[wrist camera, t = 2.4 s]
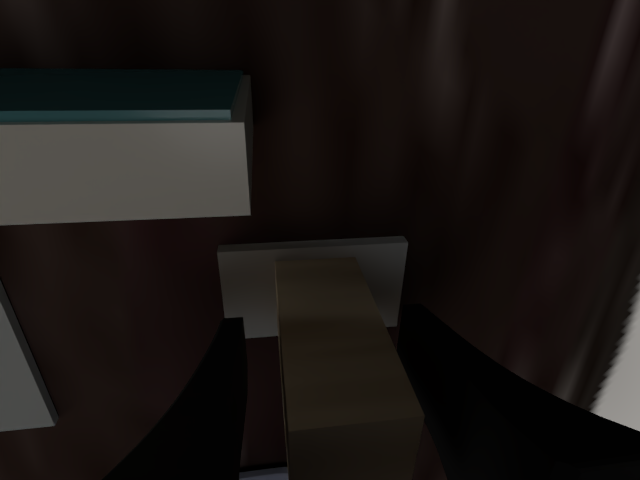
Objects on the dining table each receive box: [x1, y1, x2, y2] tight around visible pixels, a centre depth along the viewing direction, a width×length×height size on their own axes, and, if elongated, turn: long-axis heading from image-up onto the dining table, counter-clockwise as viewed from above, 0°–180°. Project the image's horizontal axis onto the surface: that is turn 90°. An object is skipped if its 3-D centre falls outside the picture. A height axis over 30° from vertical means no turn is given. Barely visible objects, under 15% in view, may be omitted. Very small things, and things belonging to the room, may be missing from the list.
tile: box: [0, 68, 253, 225], centre depth 9 cm, size 2×8×7 cm, turn 89°
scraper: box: [217, 236, 425, 480], centre depth 13 cm, size 4×7×8 cm, turn 89°
